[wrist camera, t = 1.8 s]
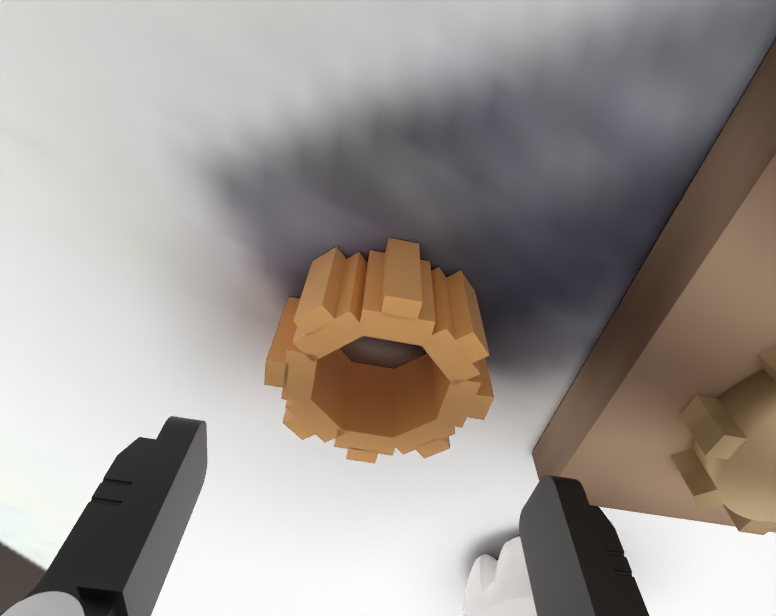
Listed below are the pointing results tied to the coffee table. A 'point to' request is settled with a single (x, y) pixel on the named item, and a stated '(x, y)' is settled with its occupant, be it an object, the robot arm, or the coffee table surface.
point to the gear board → (690, 351)
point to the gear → (374, 383)
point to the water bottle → (500, 584)
